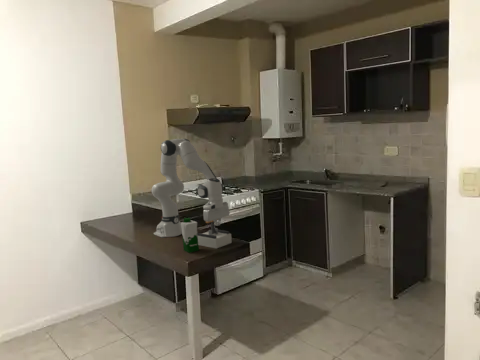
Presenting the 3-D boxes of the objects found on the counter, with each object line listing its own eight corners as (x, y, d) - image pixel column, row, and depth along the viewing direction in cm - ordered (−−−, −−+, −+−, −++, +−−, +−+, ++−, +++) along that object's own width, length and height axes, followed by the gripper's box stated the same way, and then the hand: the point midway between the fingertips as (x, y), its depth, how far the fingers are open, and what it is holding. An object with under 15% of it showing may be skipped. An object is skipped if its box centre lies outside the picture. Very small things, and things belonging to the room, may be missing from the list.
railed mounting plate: (197, 235, 259) (197, 233, 259) (212, 230, 269) (212, 228, 268) (214, 238, 248) (214, 236, 248) (229, 233, 258) (229, 231, 258)
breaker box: (196, 244, 260) (195, 230, 259) (212, 239, 270) (211, 225, 269) (216, 248, 248) (215, 233, 247) (231, 242, 258) (230, 228, 257)
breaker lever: (206, 235, 255) (205, 219, 254) (217, 231, 263) (216, 215, 261) (208, 235, 254) (207, 219, 253) (219, 231, 261) (218, 216, 260)
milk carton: (194, 247, 254) (191, 216, 251) (201, 250, 247) (198, 218, 244) (181, 250, 249) (178, 219, 246) (188, 253, 242) (185, 221, 239)
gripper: (223, 200, 262) (225, 221, 264) (201, 206, 247) (202, 228, 249) (230, 201, 258) (232, 222, 260) (208, 207, 243) (209, 229, 245)
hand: (217, 225), depth 254 cm, fingers closed
